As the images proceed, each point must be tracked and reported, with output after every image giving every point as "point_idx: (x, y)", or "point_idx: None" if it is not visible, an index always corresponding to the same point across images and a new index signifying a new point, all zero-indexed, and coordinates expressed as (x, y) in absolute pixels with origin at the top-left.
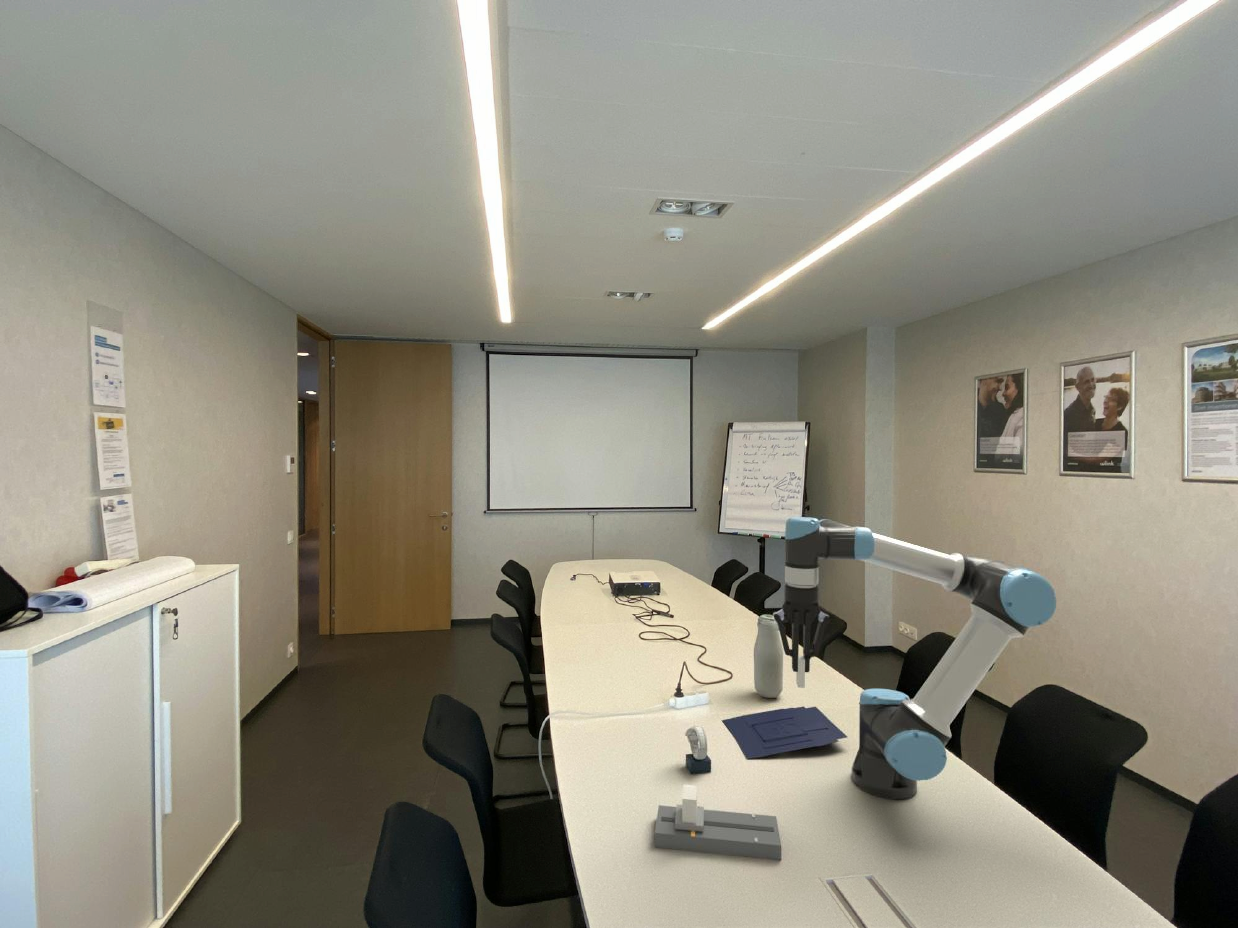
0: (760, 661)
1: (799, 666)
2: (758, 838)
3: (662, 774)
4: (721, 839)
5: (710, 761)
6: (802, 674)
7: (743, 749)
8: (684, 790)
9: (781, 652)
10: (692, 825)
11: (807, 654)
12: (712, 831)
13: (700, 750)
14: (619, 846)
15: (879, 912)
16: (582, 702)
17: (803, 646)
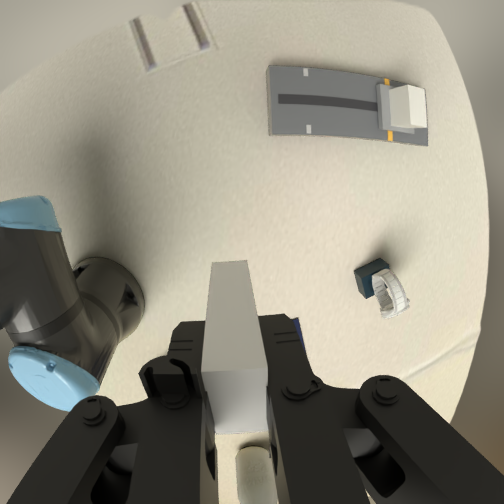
0: (269, 482)
1: (249, 326)
2: (302, 76)
3: (412, 248)
4: (351, 73)
5: (361, 277)
6: (223, 295)
7: (300, 339)
8: (424, 110)
9: (240, 495)
10: (392, 86)
11: (171, 415)
12: (364, 89)
13: (388, 270)
14: (442, 94)
15: (157, 17)
16: (454, 369)
17: (215, 498)
